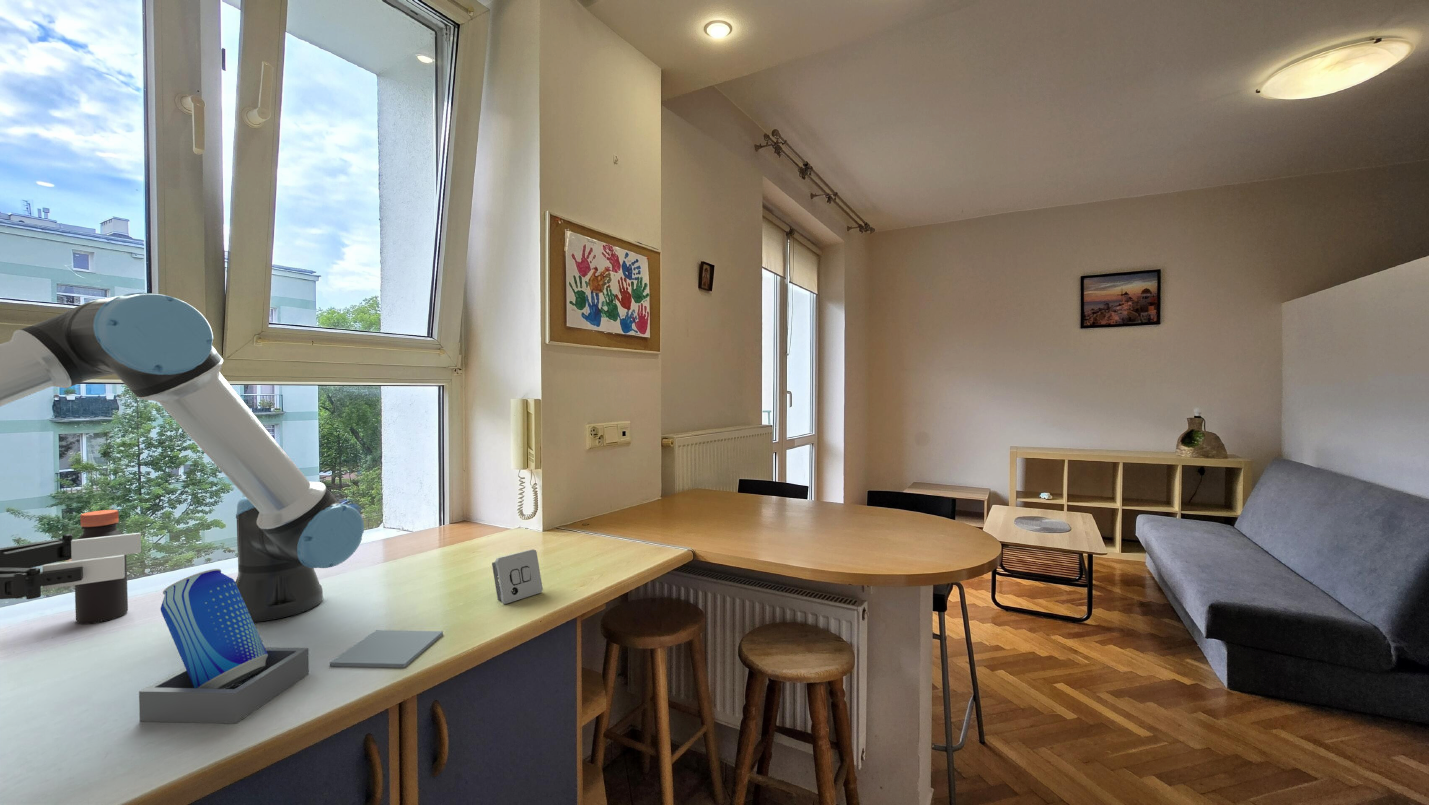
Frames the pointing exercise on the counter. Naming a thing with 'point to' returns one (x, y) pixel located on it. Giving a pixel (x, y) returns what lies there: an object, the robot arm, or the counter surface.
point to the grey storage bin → (222, 692)
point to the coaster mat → (387, 649)
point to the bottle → (103, 596)
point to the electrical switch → (517, 576)
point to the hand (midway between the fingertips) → (133, 553)
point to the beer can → (212, 630)
